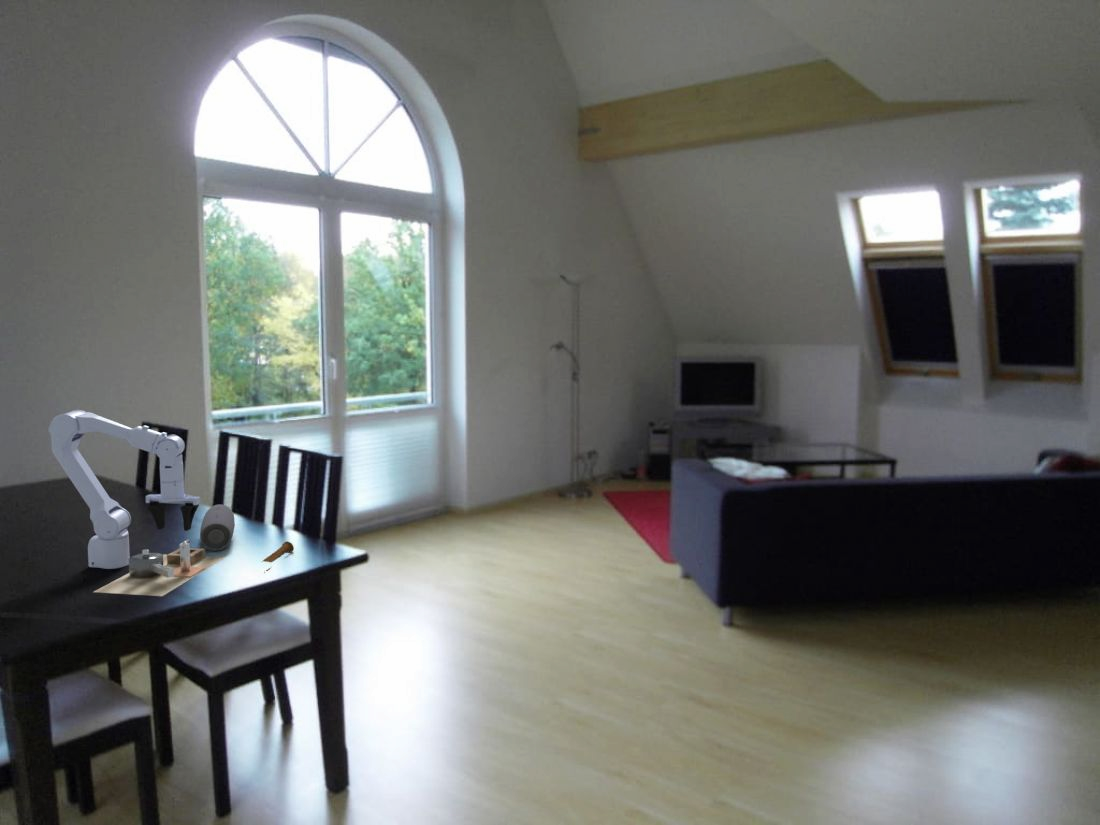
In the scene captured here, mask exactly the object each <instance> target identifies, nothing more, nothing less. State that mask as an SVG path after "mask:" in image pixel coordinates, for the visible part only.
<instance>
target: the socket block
mask: <svg viewBox="0 0 1100 825" xmlns="http://www.w3.org/2000/svg"><path fill="white" fill-rule="evenodd" d="M166 555H167V564H177V565H181V564H180V547H179V548H177V549H176V550H174V551H172V552H170V553H168V554H166ZM205 557H206V548H199V547H198V548H197V547H190V564H191V565H193V564H195V563H196V562H198V561H200V560H202V559H203V558H205Z"/></svg>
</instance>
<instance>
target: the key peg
mask: <svg viewBox="0 0 1100 825" xmlns="http://www.w3.org/2000/svg"><path fill="white" fill-rule="evenodd" d="M190 542H191V540H190V539H186V540H184V541H182V542H180V543H179V545H178V546H179V548H180V564H181V572H183V573H185V572H190V571H191V564H190V548H191V545H190Z"/></svg>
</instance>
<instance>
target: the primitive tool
mask: <svg viewBox="0 0 1100 825" xmlns="http://www.w3.org/2000/svg"><path fill="white" fill-rule="evenodd" d="M294 550H295V549H294V544H293V543H292V542H290V541H286V540H285V541H284V542H283V543H282V545H281V546H280V547H279V548H277V549H276V550H275V551H274V552H273V553H271V554H270V555H269V556H266V558H264V559H263V560H262V561H261V563H262V562H265V563H266V562H267V563H273V562H275V561H276V560H277V559H279V558H280V557H282V556H283V555H285V554H288V553H292V552H293V551H294ZM270 569H272V566H270V568H268V569H266V570H265V571H267V572H268V571H270Z"/></svg>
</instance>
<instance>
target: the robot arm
mask: <svg viewBox="0 0 1100 825" xmlns="http://www.w3.org/2000/svg"><path fill="white" fill-rule="evenodd" d="M47 429H48V430H47V431H48V433H49V434H50V443H51V452H52V454H53V456H54V458H55V459H56V460H57V462H58V463H59V465H60V466H61V468H62V469H63V471H64V472H65V474H66V475H67V477H68V478H69V480H70V481H71V482H72V484H73V486H74V487H75V489H76V490H77V491H78V493H79V495H80V497H81V498H82V499H83V500H84V502H85V503H86V505H87V507H88V508H89V510H90V511H89V512H90V513H89V518H90V519H89V520H90V521H91V522H92V525H93V531H94V533H95V534H96V535H93V536H92V537H91V538H89V541H88V545H87V560H88V567H89V568H98V569H99V568H100V569H106V570H107V569H108V570H111V569H113V570H114V569H120V568H124V567H126V566H129V558H130V557H131V556H130V555H131V554H130V539H129V538H130V537H129V531H128V527H129V526H130V524H131V522H132V516H131V514H130V512H129V511H128V510H127V509H125V508H123V507H122V506H121V504H120V503H119V502H118V501H116V500H114V499H113V498H111V497H110V496H109V494H108V493H107V491H106V490H105V488H104V487H103V485H102V484H101V482H100V481H99V479H98V478H97V477H96V475H95V473H94V472H93V471H92V469H91V468H90V465H89V464H88V463H87V461H86V459H84V457H83V455H82V453H81V452H80V450H79V449H78V448H79V444H80V443H81V440H82V438H83V436H84V435H85V434H86V433H87V434H88V433H92V432H93V433H94V432H97V433H101V434H104V435H108V436H112V437H116V438H119V439H123V440H125V441H127V442H128V444H129V445H130V446H131V447H133V448H136V449H139V450H142V451H145V452H148V453H151V454H156V456H157V457H158V458H159V479H160V493H159V494H157V493H156V494H153V493H152V494H147V495H145V503H146V504H148V505H147V506H146V508H147V510H148V511H149V512H150V514H151V516H152V518H153V520H154V522H155V525H156V528H157V530H158V531H159V530H163V529H164V528H165V524H166V522H165V521H166V519H165V517H166V516H165V512H166V505H167V504H177V505H182V506H180V507H179V509H180V510H181V514H182V515H181V516H182V520H183V521H182V522H183V530H184V532H188V531H189V530H191V528H192V524H193V520H194V518H195V514H196V512H197V510H198V508H199V506H200V504H201V496H195V495H190V494H185V481H184V480H185V478H184V461H183V452H184V451H185V448H186V444H185V441H184V440H183V438H182V437H180V436H178V435H177V434H168V432H164V431H163V432H159V431H156V430H153V429H150V426H148V425H142V426H141V425H138V426H135V427H133V428H132V427H129V426H126V425H125V424H121V423H119V422H117V421H114V420H111V419H108V418H106V417H103V416H100V415H98V414H95V413H93V412H89V411H87V412H86V411H85V410H81V409H73V410H71V411H70V412H65V413H60V414H58V415H55V417H53V419H52V421H51V422H50V425H49V427H48V428H47Z"/></svg>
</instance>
